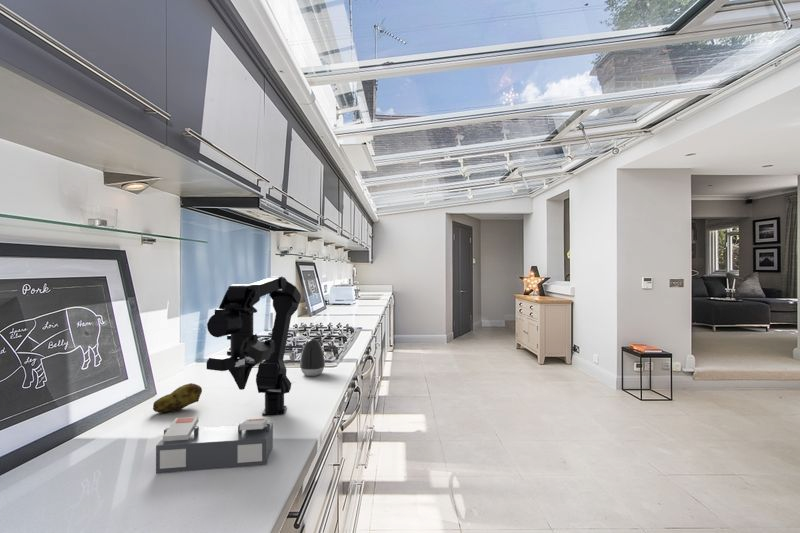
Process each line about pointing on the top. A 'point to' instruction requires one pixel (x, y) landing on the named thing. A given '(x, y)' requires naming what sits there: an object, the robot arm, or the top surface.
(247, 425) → the rocker switch
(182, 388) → the potato
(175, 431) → the outlet rocker
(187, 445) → the power strip
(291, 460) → the top surface
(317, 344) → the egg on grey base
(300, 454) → the top surface
